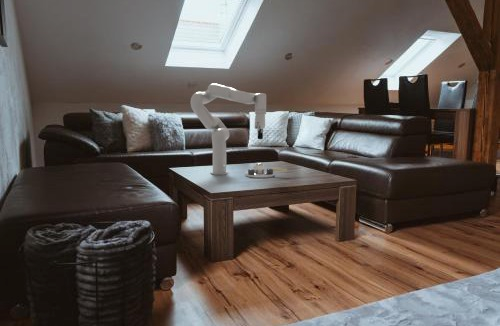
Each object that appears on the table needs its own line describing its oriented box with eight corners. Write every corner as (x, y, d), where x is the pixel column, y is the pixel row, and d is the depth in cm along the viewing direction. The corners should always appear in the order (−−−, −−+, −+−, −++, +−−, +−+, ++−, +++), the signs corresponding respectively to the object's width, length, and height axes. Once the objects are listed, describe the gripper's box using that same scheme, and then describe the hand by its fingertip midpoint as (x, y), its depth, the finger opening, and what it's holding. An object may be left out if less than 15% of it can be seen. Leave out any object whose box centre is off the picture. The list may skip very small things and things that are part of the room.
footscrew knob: (265, 174, 274) (266, 168, 273) (267, 173, 278) (267, 167, 277) (285, 175, 269) (285, 169, 269) (287, 174, 274) (287, 168, 273)
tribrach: (242, 173, 285) (242, 160, 284) (269, 172, 289) (269, 160, 288) (248, 178, 266) (248, 165, 264) (277, 177, 270) (277, 164, 268)
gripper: (258, 111, 279) (258, 137, 282) (251, 112, 265) (251, 139, 268) (268, 111, 277) (268, 138, 279) (262, 112, 263) (262, 140, 265)
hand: (260, 139), depth 274 cm, fingers closed
